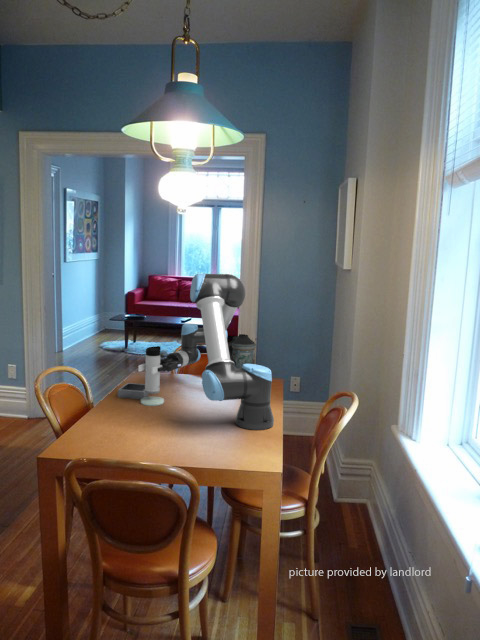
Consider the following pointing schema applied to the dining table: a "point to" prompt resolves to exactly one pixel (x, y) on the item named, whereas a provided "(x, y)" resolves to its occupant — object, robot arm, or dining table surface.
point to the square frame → (132, 391)
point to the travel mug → (150, 379)
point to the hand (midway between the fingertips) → (145, 369)
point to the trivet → (152, 401)
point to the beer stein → (242, 350)
